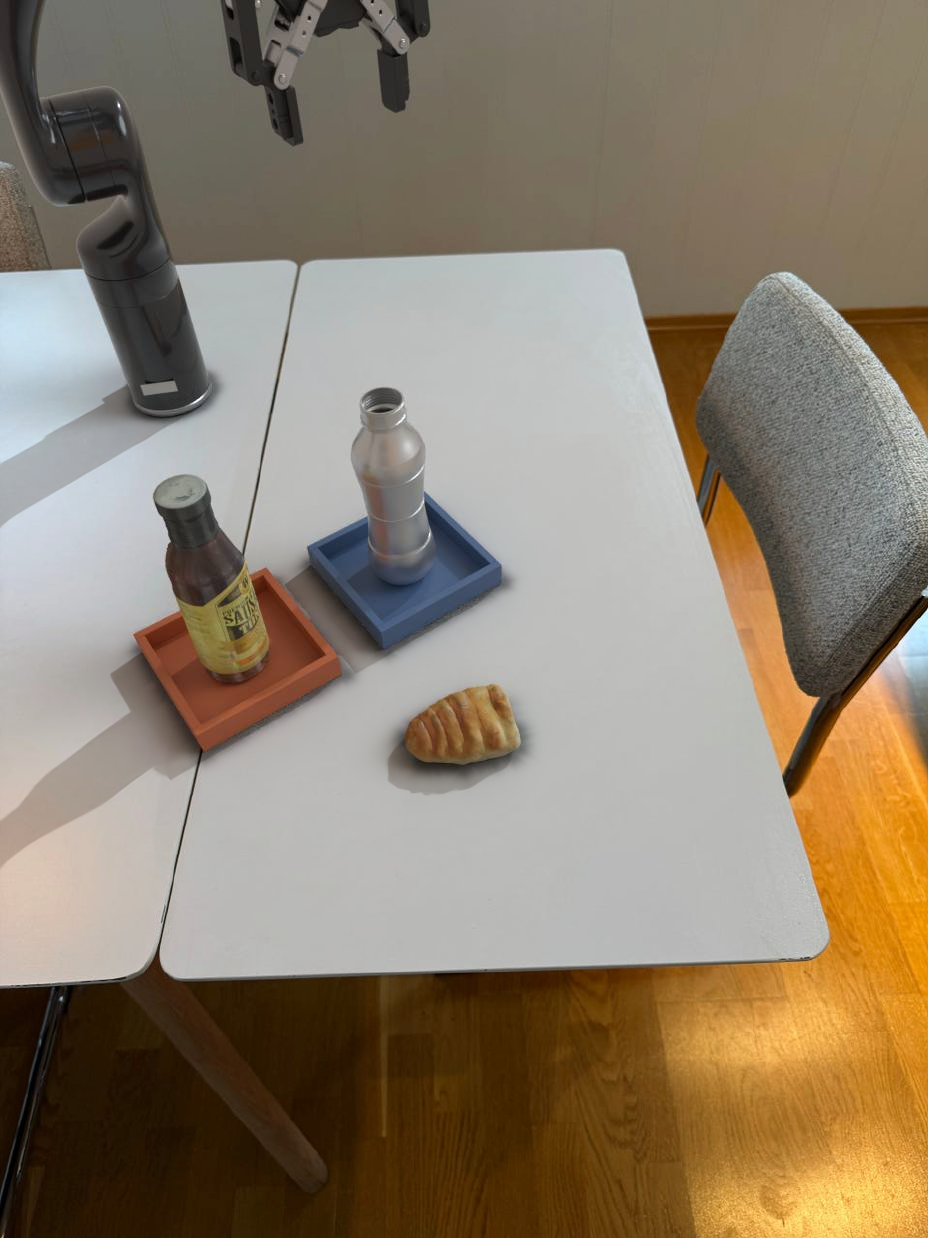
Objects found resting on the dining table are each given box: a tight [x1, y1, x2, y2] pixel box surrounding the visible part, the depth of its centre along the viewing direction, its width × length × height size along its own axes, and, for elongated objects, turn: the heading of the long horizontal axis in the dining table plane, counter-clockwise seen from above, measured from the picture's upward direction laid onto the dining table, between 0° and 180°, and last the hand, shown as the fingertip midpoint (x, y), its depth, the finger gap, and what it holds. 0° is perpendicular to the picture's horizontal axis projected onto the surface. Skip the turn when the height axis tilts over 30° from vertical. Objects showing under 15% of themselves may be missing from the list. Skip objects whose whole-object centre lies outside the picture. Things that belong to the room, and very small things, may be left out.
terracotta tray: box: [132, 566, 343, 753], centre depth 81 cm, size 14×14×3 cm
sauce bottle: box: [152, 473, 269, 684], centre depth 74 cm, size 7×6×20 cm
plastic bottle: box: [350, 386, 436, 585], centre depth 80 cm, size 6×7×20 cm
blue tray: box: [306, 490, 503, 651], centre depth 87 cm, size 14×14×3 cm
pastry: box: [404, 683, 522, 766], centre depth 74 cm, size 9×7×4 cm
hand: (344, 124), depth 65 cm, fingers open, 8 cm apart
